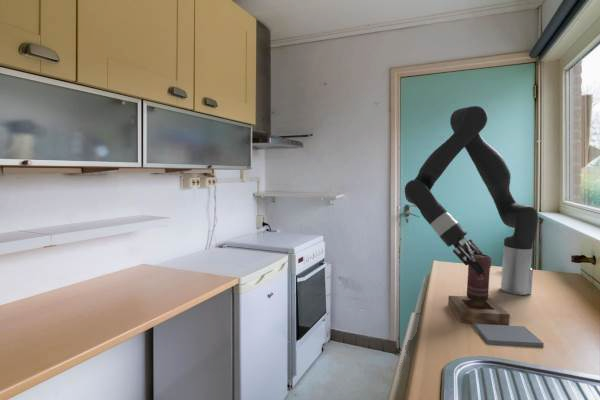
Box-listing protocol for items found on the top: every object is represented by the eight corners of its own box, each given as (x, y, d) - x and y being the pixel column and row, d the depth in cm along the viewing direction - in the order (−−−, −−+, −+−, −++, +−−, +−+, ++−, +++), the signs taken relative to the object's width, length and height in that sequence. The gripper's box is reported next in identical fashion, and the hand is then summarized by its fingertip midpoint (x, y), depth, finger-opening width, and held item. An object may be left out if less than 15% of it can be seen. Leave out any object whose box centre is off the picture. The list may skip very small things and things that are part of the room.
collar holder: (489, 307, 121) (490, 297, 121) (508, 325, 108) (509, 314, 107) (448, 305, 123) (448, 295, 122) (461, 323, 109) (462, 311, 109)
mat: (524, 329, 105) (524, 326, 105) (543, 346, 95) (543, 343, 95) (474, 326, 107) (474, 323, 107) (487, 343, 97) (488, 339, 97)
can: (491, 302, 111) (494, 258, 110) (469, 301, 113) (471, 257, 111) (485, 295, 117) (488, 253, 116) (464, 294, 118) (466, 252, 117)
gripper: (449, 225, 112) (489, 269, 105) (463, 219, 123) (500, 259, 116) (431, 239, 116) (469, 283, 109) (446, 232, 126) (481, 272, 120)
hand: (485, 270), depth 113 cm, fingers closed on can, 6 cm apart
